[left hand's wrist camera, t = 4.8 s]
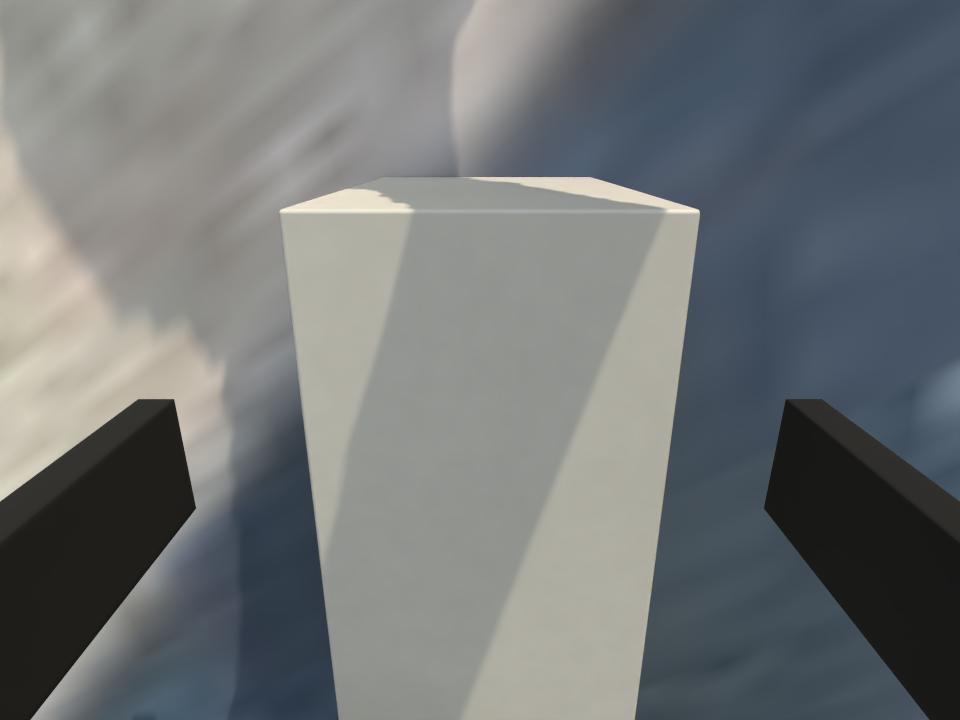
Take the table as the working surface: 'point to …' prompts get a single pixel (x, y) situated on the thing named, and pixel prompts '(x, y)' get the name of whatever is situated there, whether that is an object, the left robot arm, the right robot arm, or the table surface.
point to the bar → (488, 436)
